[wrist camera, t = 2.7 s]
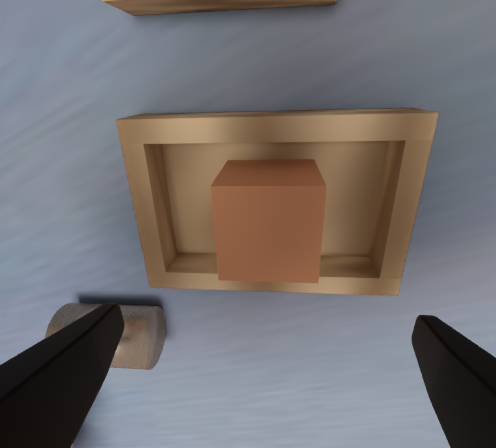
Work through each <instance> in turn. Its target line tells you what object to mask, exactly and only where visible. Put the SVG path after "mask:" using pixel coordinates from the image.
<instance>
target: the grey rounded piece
mask: <svg viewBox="0 0 496 448" xmlns="http://www.w3.org/2000/svg"><path fill="white" fill-rule="evenodd" d="M101 305H103V304H88V303H68V304H66V305H64V306H62V307H61V308H60V309H59V310H58V311H57V312H56V313H55V314H54V316H53V317H52V319H51V321H50V323H49V325H48V328H47V332H46V336H45V338H47V337H49V336H50V335H52V334H54V333H55V332H57V331H59V330H60V329H62V328H64V327H65V326H67V325H69V324H71V323H72V322H74V321H76V320H77V319H79V318H81V317H82V316H84V315H86V314H87V313H89V312H91V311H92V310H94V309H96V308H97V307H99V306H101ZM119 306H120V308H121V312H122V315H123V319H124V324H125V327H124V331H123V334H122V337H121V339H120V342H119V345H118V347H117V350H116V352H115V355H114V358H113V360H112V363H111V365H110V367H113V368H129V369H145V370H150V369H152V368H154V366H155V365H156V364H157V362H158V360H159V358H160V355H161V353H162V349H163V345H164V340H165V332H166V321H165V316H164V311H163V309H162V308H161V307H159V306H138V305H119Z"/></svg>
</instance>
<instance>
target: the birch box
mask: <svg viewBox="0 0 496 448" xmlns="http://www.w3.org/2000/svg"><path fill="white" fill-rule="evenodd" d="M438 115H439V113H438V112H432V111H427V110H421V109H416V108H383V109H340V110H297V111H254V112H211V113H168V114H139V115H135V116H130V117H126V118H121V119H117V120H116V123H117V128H118V133H119V138H120V143H121V147H122V152H123V157H124V162H125V167H126V172H127V177H128V182H129V187H130V192H131V197H132V201H133V206H134V211H135V216H136V221H137V226H138V231H139V236H140V241H141V246H142V250H143V255H144V260H145V265H146V270H147V275H148V280H149V285H150V288H179V289H209V290H239V291H269V292H298V293H328V294H358V295H388V296H398V292H399V288H400V283H401V279H402V275H403V270H404V266H405V261H406V257H407V252H408V248H409V243H410V239H411V235H412V230H413V226H414V221H415V217H416V212H417V208H418V203H419V199H420V195H421V190H422V186H423V181H424V177H425V172H426V168H427V164H428V159H429V155H430V150H431V146H432V141H433V137H434V132H435V128H436V124H437V119H438ZM284 159H314V160H315V162H316V165H317V167H318V169H319V171H320V173H321V175H322V177H323V179H324V182H325V184H326V186H327V188H326V200H325V211H324V223H323V235H322V247H321V258H320V270H319V282H318V283H289V282H256V281H223V280H218V269H217V257H216V246H215V234H214V222H213V210H212V199H211V187H210V186H211V185H212V183H213V181H214V180H215V178H216V177H217V175H218V174H219V172H220V171H221V169H222V168H223V166H224V165H225V163H226V162H227V160H284Z"/></svg>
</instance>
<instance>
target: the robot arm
mask: <svg viewBox="0 0 496 448" xmlns="http://www.w3.org/2000/svg"><path fill="white" fill-rule="evenodd" d="M124 327H125V324H124V319H123V315H122V312H121V308H120V306H119V304H117V303H104V304H103V305H101V306H99V307H97V308H96V309H94V310H92V311H91V312H89V313H87V314H86V315H84V316H82V317H81V318H79V319H77V320H76V321H74V322H72V323H71V324H69V325H67V326H65V327H64V328H62V329H60V330H59V331H57V332H55V333H54V334H52V335H50V336H49V337H47V338H45V339H44V340H42V341H40V342H38V343H37V344H35V345H33V346H32V347H30V348H28V349H27V350H25V351H23V352H22V353H20V354H18V355H17V356H15V357H13V358H11V359H10V360H8V361H6V362H5V363H3V364H1V365H0V448H71V446H72V444H73V442H74V440H75V438H76V436H77V434H78V432H79V430H80V428H81V426H82V424H83V422H84V420H85V418H86V416H87V414H88V412H89V410H90V408H91V406H92V404H93V402H94V400H95V398H96V396H97V394H98V392H99V390H100V388H101V386H102V384H103V382H104V380H105V378H106V375H107V373H108V371H109V368H110V365H111V363H112V360H113V358H114V355H115V352H116V350H117V347H118V345H119V342H120V339H121V337H122V334H123V331H124ZM412 345H413V348H414V351H415V355H416V358H417V361H418V364H419V367H420V371H421V374H422V377H423V380H424V383H425V387H426V390H427V393H428V395H429V398H430V401H431V403H432V406H433V408H434V410H435V413H436V415H437V417H438V420H439V422H440V424H441V427H442V429H443V431H444V433H445V436H446V438H447V440H448V443H449V445H450V447H451V448H496V358H495V357H494V356H492V355H491V354H490V353H488V352H487V351H485V350H484V349H482V348H481V347H479V346H478V345H476V344H475V343H473V342H472V341H471V340H469V339H468V338H466V337H465V336H463V335H462V334H460V333H459V332H457V331H456V330H455V329H453V328H452V327H450V326H449V325H447V324H446V323H444V322H443V321H441V320H440V319H438V318H437V317H435V316H432V315H419V316H418V317H417V319H416V322H415V326H414V330H413V333H412Z"/></svg>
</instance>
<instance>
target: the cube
mask: <svg viewBox="0 0 496 448" xmlns="http://www.w3.org/2000/svg"><path fill="white" fill-rule="evenodd" d="M210 187H211V199H212V210H213V222H214V234H215V246H216V257H217V269H218V280H223V281H256V282H289V283H318V282H319V270H320V258H321V247H322V235H323V223H324V211H325V200H326V188H327V186H326V184H325V182H324V179H323V177H322V175H321V173H320V171H319V169H318V167H317V165H316V162H315V160H314V159H284V160H227V162H226V163H225V165H224V166H223V168H222V169H221V171H220V172H219V174H218V175H217V177H216V178H215V180H214V181H213V183H212V185H211V186H210Z"/></svg>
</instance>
